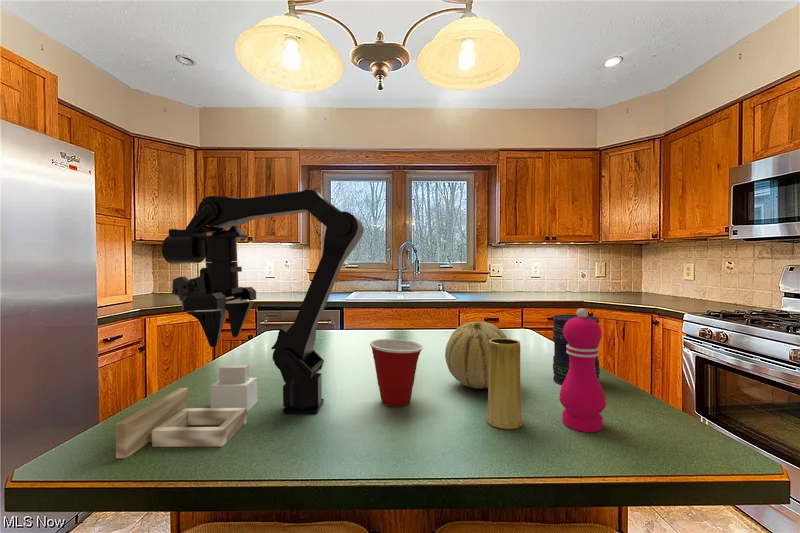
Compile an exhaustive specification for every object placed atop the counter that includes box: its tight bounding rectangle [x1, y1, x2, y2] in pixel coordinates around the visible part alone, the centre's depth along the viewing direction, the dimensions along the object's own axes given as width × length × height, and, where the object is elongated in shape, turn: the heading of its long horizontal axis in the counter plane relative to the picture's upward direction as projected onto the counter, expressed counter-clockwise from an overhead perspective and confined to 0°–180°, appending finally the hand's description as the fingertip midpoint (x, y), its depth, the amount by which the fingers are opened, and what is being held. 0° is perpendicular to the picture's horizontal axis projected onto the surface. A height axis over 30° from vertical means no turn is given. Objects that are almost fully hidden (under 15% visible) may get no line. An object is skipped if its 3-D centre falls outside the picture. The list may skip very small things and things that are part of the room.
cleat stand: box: [114, 387, 248, 459], centre depth 64 cm, size 14×16×5 cm
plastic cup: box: [369, 338, 424, 408], centre depth 77 cm, size 11×11×12 cm
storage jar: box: [552, 314, 601, 386], centre depth 89 cm, size 10×10×15 cm
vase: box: [486, 337, 524, 430], centre depth 67 cm, size 6×6×14 cm
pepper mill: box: [558, 307, 607, 433], centre depth 66 cm, size 7×7×20 cm
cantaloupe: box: [444, 321, 508, 390], centre depth 86 cm, size 15×15×15 cm
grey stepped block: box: [210, 364, 258, 412], centre depth 76 cm, size 7×5×8 cm
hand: (225, 341), depth 76 cm, fingers open, 9 cm apart
